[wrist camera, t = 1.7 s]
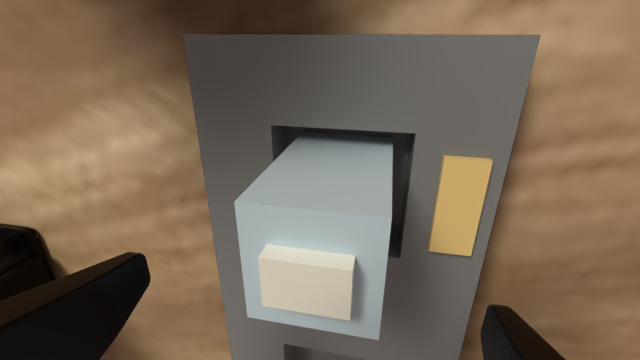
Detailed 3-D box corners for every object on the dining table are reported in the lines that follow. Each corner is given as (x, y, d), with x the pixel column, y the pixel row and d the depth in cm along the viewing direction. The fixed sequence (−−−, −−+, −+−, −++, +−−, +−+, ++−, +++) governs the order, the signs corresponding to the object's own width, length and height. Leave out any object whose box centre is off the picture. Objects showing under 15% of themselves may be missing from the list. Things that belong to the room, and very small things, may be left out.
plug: (304, 209, 16) (239, 332, 9) (302, 131, 15) (223, 212, 8) (384, 218, 16) (377, 358, 9) (392, 137, 14) (391, 232, 7)
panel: (256, 391, 24) (240, 433, 21) (215, 34, 14) (177, 34, 12) (425, 429, 22) (430, 480, 19) (513, 35, 12) (544, 35, 10)
